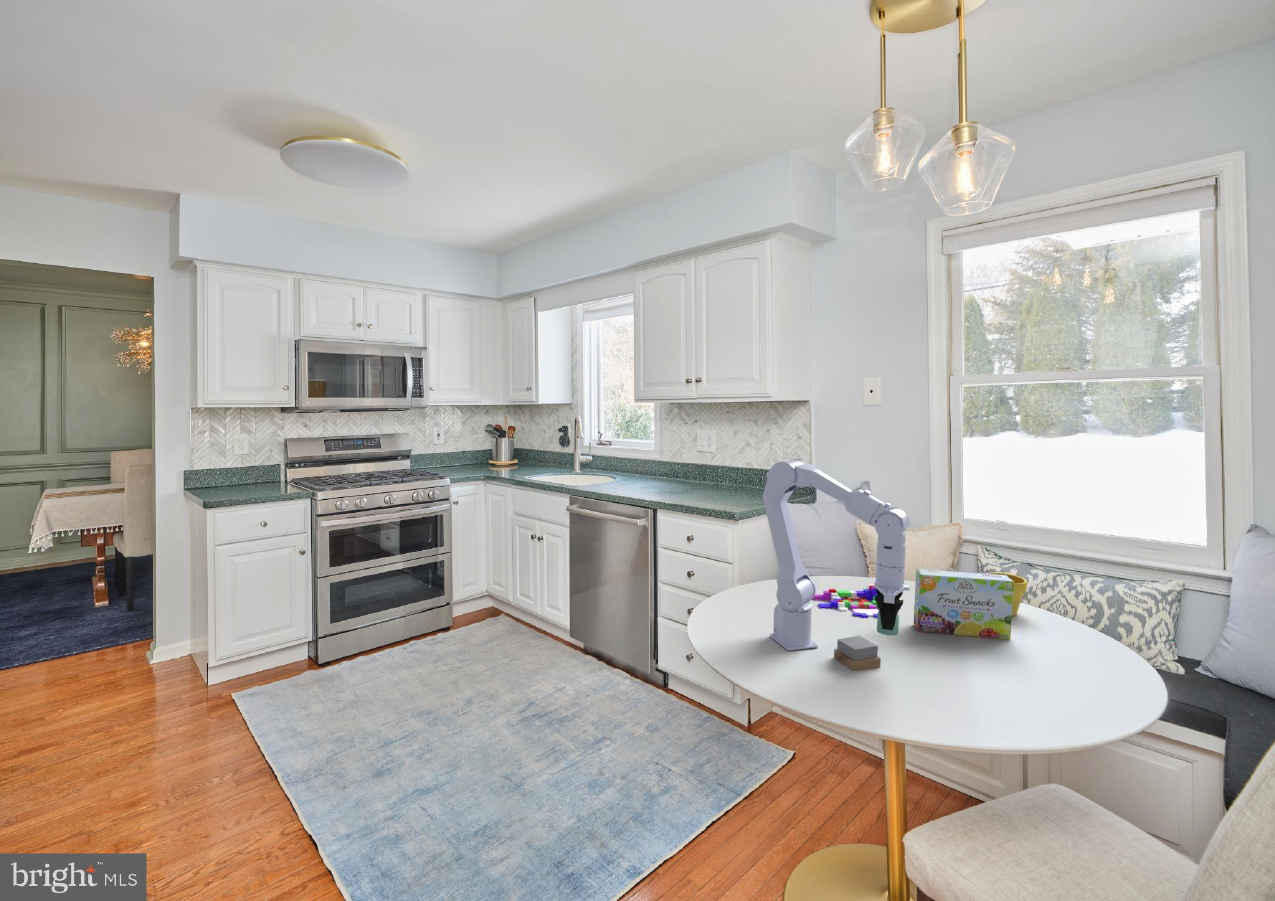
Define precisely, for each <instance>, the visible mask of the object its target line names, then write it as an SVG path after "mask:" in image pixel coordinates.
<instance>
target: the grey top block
mask: <svg viewBox="0 0 1275 901" xmlns="http://www.w3.org/2000/svg"><path fill="white" fill-rule="evenodd" d="M836 643H837V644H836V649H837V650H838V651H840V652H841V653H843V654H845V655H846V656H848V657H850V658H851V659H853V660H855V661H857V660H863V659H868V658H873V657H877V656H878V654H879V653H878V651H879V648H878V647H879V645H877V644H875V643H874V642H871V641H870V640H868V639H866V638H864V637H862V636H860V635H855V636H849V637H845V638H838V639H837V642H836Z"/></svg>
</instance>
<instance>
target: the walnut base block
mask: <svg viewBox="0 0 1275 901" xmlns="http://www.w3.org/2000/svg"><path fill="white" fill-rule="evenodd" d="M833 658H834V659H836V660H837V661H838V662H839V663H841V664H842V663H843V664H842V665H844V666H845V667H846V666H847V667H846V668H848V670H850V671H852V672H854V670H855V671H861V670H860V669H862V670H867V669H876V668H881V663H882V662H881V657H879V656H878V655H877V657H873V658H868V659H863V660H857V661H855V660H853V659H851V658H850V657H848V656H846V655H845V654H843V653H841V652H840V651H838V650H837V648H834V650H833Z"/></svg>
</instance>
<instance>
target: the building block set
mask: <svg viewBox="0 0 1275 901" xmlns="http://www.w3.org/2000/svg"><path fill="white" fill-rule="evenodd" d="M875 589H876V588H875V586H874V584H868V585H866V587H863V589H862V590H837V589H836V588H828V590H823V594H816V593H815V595H814V597H813V598H812V599H813V600H814V601H829V603H818V604H817V605H818V607H819V609H821V608H826V609H827V608H830V609H831V610H832V609H837V610H838V611H840V612H848V610H849V609H850V610H851V611H852V615H853V616H854V617H855V618H856V617H858V618H860V617H861V618H863V619H864V618H865V619H869V617H870V618H871V617H873V618H875V619H877V612H878V611H879V608H878V605H877V603H876V601H875V595H877V593H876V590H875ZM899 600H902V598H900V599H899ZM854 601H855V602H854ZM856 601H857V602H856ZM858 601H859V602H858ZM901 609H902V607H901V608H900V609H899V610H901Z"/></svg>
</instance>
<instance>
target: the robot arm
mask: <svg viewBox="0 0 1275 901" xmlns="http://www.w3.org/2000/svg"><path fill="white" fill-rule="evenodd" d="M765 477H766V483H765V487H764V490H763V494H762V498H763V499H762V500H763V504H764V508H765V513H766V516H767V521H768V525H769V531H770V533H771V538H772V542H773V546H774V551H775V554H776V559H777V563H778V564H777V565H778V568H779V571H778V574H777V577H776V585H777V590H776V600H777V602H778V603H777V604H776V606H775V607H774V609H773V628H772V629H773V630H772V631H773V633H769V636H770V637H771V638H772V639H773V640H774V641H776V642H777V643H778V644H780V646H782V648H784V649H785V650H786V651H797V650H804V649H805V650H806V649H814V648H815V649H816V648H819V645H818V644H817V643H816V642H815V641H813V640H812V639H811V637H812V608H813V607H812V603H811V600H812V599H813V597H814V595H815V594H816V590H817V588H816V584H815V582H814V581H813V580H812V579H811V577H810V575H809V571H808V569H807V567H805V566H804V565H803V563H802V559H801V555H800V550H799V547H798V542H797V539H796V533H795V529H794V525H793V522H792V517H791V512H790V508H789V504H788V500H789V498H790V496H791V495H792V494H793V492H794V491H795V490H796V489H797V488H803V487H804V488H807V487H808V488H809V487H812V488H815V489H816V490H818V491H820V492H822V493H824V494H825V495H827V496H830V497H831V498H833V499H834V500H838V501H839V502H840V503H843V505H844V508H845V511H846V512H847V513H849V514H851V515H853V516H854V517H856V518H858V520H861V521H862V522H863V523H865V524H868V525H869V526H871V527H874V531H875V532H876V533H877V542H876V545H877V546H876V564H875V581H874V582H873V583H874V584H873V585H874V586H875V588H876V589H875V590H876V593H877V595H875V601H876V603H877V605H878V608H877V609H878V610H879V612H880V618H881V625H882V629H886V630H893V628H894V625H895V621H896V617H897V614H899V611H900V610H901V609H902V606H903V604H904V599H901V598H902V596H903V594H904V591H907V592H908V591H910V588H911V587H910V585H909V584H905V569H906V568H905V566H906V547H907V545H906V540H907V539H906V538H907V536H906V534H907V533H906V531H907V530H908V528H909V526H910V518H909V515H908V514H907V512H906V511H905V510H903V509H902V507H897V506H892V507H891V505H892V504H891V503H889V502H884V501H881V500H879V499H878V498H876V497H874V496H872V492H871V491H869V490H868V489H866V490H865V489H864V490H863V489H856V490H852V489H850V488H848V487H847V486H845V485H843V483H841V482H839V481H838V480H835V479H834V478H833V477H831V476H830V475H828V474H826V473H824V472H823V471H821V469H819V468H817V467H815V466H814V465H813V464H811V463H806V461H804V460H802V459H800V458H792V459H789V460H784V461H777V462H776V463H774V464H773V465H772V466H771V467H770V469H769V470H768V471H767V472H766V475H765ZM899 599H901V600H899ZM900 608H901V609H900Z"/></svg>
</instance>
